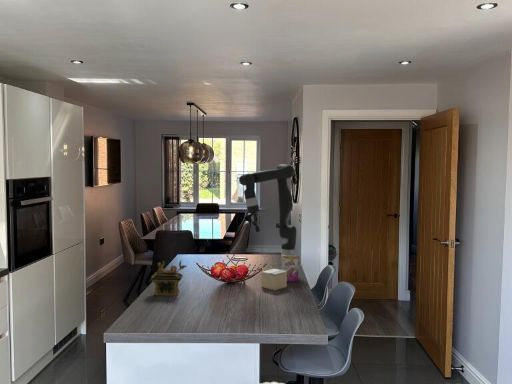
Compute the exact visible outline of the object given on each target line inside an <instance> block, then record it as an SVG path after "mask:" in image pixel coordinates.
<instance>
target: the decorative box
mask: <svg viewBox="0 0 512 384" xmlns="http://www.w3.org/2000/svg"><path fill="white" fill-rule="evenodd" d="M157 265H158V269H157V271H156V272H154V273H153V274H152V276H151V277H150V280H151V281H152V282H153V283H154V284H155V285H154V286H155V290H154V292H153V295H154V296H164V297H165V296H168V297H169V296H172V297H174V296H175V297H176V296H178V295H179V293H180V290H179V282H180V281H181V280H182V278H183V276H184V275H183V274H182V273H180V270H183V269H185V268H187V267H188V265H182V260H179V263H178V266H179V269H178V268H177V266H176V265H172V266H171V267H170V269H164V266H165V260H162V263H161V262H157Z"/></svg>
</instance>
